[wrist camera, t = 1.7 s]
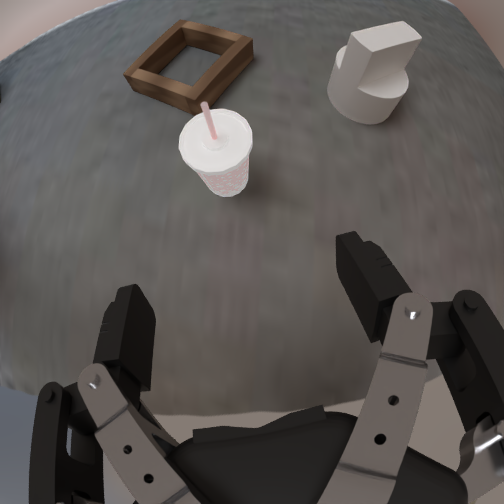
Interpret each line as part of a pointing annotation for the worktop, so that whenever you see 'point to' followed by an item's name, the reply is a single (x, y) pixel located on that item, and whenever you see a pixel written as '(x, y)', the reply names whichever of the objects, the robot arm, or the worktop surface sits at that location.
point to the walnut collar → (213, 80)
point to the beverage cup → (218, 149)
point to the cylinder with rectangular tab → (372, 72)
